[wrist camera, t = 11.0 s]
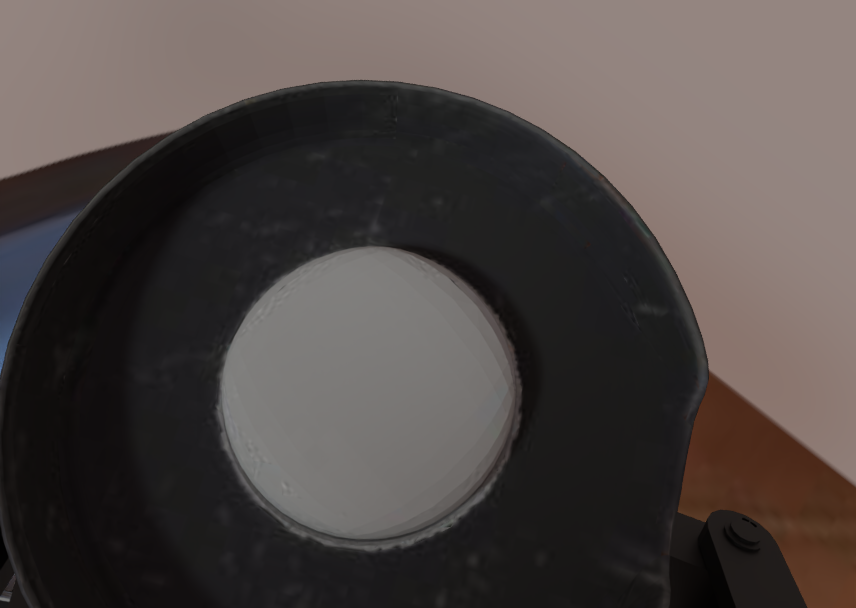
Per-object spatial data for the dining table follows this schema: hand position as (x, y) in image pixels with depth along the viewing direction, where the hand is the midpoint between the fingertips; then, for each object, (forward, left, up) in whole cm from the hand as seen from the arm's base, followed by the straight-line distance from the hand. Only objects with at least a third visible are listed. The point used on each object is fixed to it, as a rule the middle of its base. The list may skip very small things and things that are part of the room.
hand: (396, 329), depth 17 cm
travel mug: (+2, -3, -9) cm, 10 cm away
